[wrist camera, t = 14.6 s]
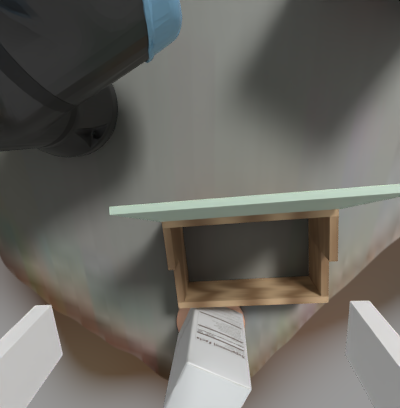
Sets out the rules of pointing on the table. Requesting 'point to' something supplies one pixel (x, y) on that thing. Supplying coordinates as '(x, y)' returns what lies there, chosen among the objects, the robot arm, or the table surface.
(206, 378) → the supplement box
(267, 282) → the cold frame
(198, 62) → the table surface
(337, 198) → the sage green board
